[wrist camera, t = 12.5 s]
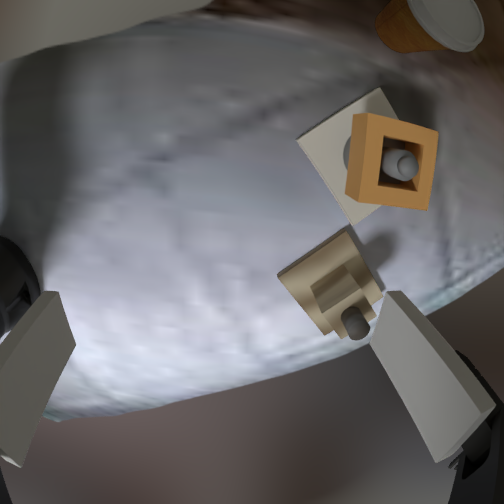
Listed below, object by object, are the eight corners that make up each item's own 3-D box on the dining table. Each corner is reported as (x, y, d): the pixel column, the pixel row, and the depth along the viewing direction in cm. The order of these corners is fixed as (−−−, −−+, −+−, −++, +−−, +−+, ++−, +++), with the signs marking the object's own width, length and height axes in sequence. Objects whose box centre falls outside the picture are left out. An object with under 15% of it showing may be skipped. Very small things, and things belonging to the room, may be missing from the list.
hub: (295, 139, 30) (321, 143, 21) (376, 88, 27) (424, 78, 18) (350, 223, 34) (387, 257, 25) (420, 171, 31) (471, 189, 22)
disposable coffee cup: (430, 24, 23) (487, 4, 12) (420, 77, 26) (484, 69, 15) (369, -11, 22) (416, -49, 10) (355, 42, 25) (408, 11, 14)
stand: (276, 274, 36) (289, 323, 27) (343, 228, 34) (378, 263, 25) (322, 331, 40) (342, 381, 31) (380, 292, 38) (412, 335, 29)
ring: (344, 193, 27) (358, 202, 24) (352, 114, 24) (368, 112, 21) (409, 201, 28) (427, 210, 25) (419, 129, 25) (438, 131, 21)
